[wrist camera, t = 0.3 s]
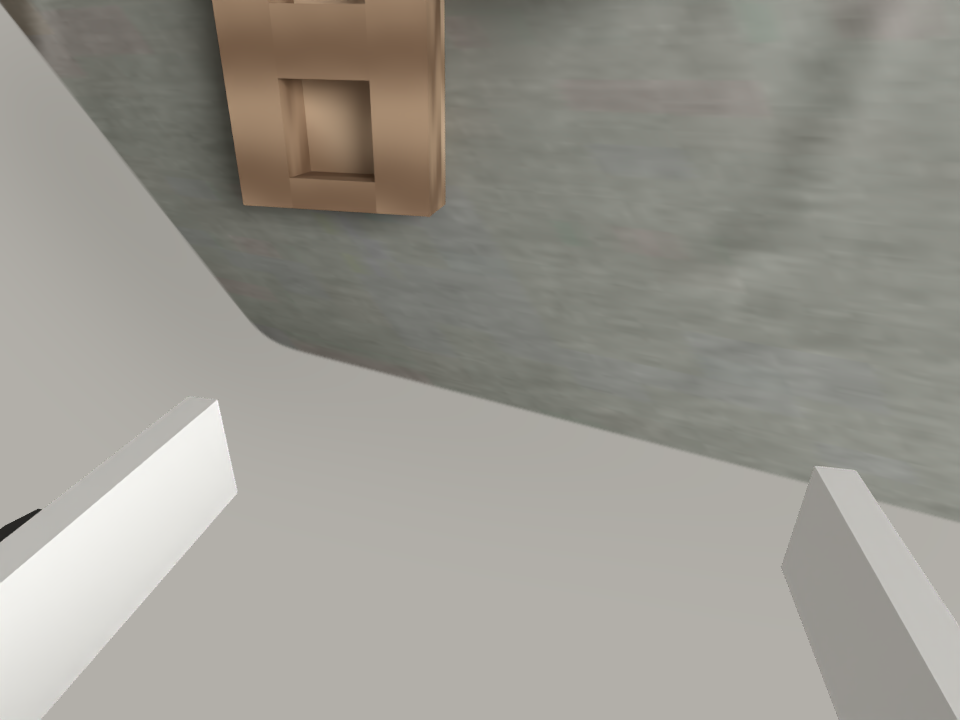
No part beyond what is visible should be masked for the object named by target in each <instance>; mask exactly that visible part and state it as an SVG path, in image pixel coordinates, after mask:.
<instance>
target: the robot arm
mask: <svg viewBox="0 0 960 720" xmlns="http://www.w3.org/2000/svg"><path fill="white" fill-rule="evenodd" d="M236 494H237V487H236V483H235V478H234V474H233V469H232V464H231V460H230V455H229V450H228V446H227V441H226V436H225V432H224V427H223V423H222V418H221V413H220V409H219V404H218V400H217V399H208V398H199V397H190V396H188V397H187V398H185V399H184V400H183V401H182V402H180V403H179V404H178V405H176V406H175V407H174V408H172V409H171V410H170V411H169V412H167V413H166V414H165V415H163V416H162V417H161V418H160V419H158V420H157V421H156V422H154V423H153V424H152V425H151V426H149V427H148V428H147V429H145V430H144V431H143V432H142V433H140V434H139V435H138V436H136V437H135V438H134V439H133V440H131V441H130V442H129V443H127V444H126V445H125V446H124V447H122V448H121V449H120V450H118V451H117V452H116V453H114V454H113V455H112V456H111V457H109V458H108V459H107V460H106V461H104V462H103V463H102V464H100V465H99V466H98V467H97V468H95V469H94V470H93V471H91V472H90V473H89V474H87V475H86V476H85V477H84V478H82V479H81V480H80V481H78V482H77V483H76V484H75V485H73V486H72V487H71V488H69V489H68V490H67V491H66V492H64V493H63V494H62V495H60V496H59V497H58V498H57V499H55V500H54V501H53V502H51V503H50V504H49V505H48V506H46V507H45V508H44V509H37V510H35V511H33V512H31V513H29V514H27V515H25V516H23V517H21V518H19V519H17V520H15V521H13V522H11V523H9V524H7V525H5V526H4V527H2V528H1V529H0V720H41V719H42V717H43V716H44V715H45V714H46V713H47V712H48V711H49V709H50V708H51V707H52V706H53V705H54V704H55V702H56V701H57V700H58V699H59V698H60V697H61V696H62V694H63V693H64V692H65V691H66V690H67V689H68V687H69V686H70V685H71V684H72V683H73V682H74V680H75V679H76V678H77V677H78V676H79V675H80V674H81V672H82V671H83V670H84V669H85V668H86V667H87V665H88V664H89V663H90V662H91V661H92V660H93V659H94V657H95V656H96V655H97V654H98V653H99V652H100V651H101V649H102V648H103V647H104V646H105V645H106V644H107V642H108V641H109V640H110V639H111V638H112V637H113V636H114V634H115V633H116V632H117V631H118V630H119V629H120V628H121V626H122V625H123V624H124V623H125V622H126V620H127V619H128V618H129V617H130V616H131V615H132V614H133V612H134V611H135V610H136V609H137V608H138V607H139V606H140V604H141V603H142V602H143V601H144V599H146V598H147V596H148V595H149V594H150V593H151V592H152V591H153V589H154V588H155V587H156V586H157V585H158V584H159V582H160V581H161V580H162V579H163V578H164V577H165V575H166V574H167V573H168V572H169V571H170V570H171V569H172V568H173V566H174V565H175V564H176V563H177V562H178V561H179V559H180V558H181V557H182V556H183V555H184V554H185V553H186V551H187V550H188V549H189V548H190V547H191V545H192V544H193V543H194V542H195V541H196V540H197V538H199V536H200V535H201V534H202V533H203V532H204V531H205V529H206V528H207V527H208V526H209V525H210V524H211V522H212V521H213V520H214V519H215V518H216V517H217V516H218V514H219V513H220V512H221V511H222V510H223V509H224V508H225V506H226V505H227V504H228V503H229V502H230V501H231V499H232V498H233V497H234V496H235V495H236ZM781 568H782V571H783V573H784V576H785V579H786V582H787V584H788V587H789V589H790V592H791V595H792V597H793V600H794V602H795V605H796V608H797V611H798V613H799V616H800V619H801V621H802V624H803V626H804V629H805V632H806V634H807V637H808V640H809V642H810V645H811V647H812V650H813V653H814V656H815V658H816V661H817V664H818V666H819V669H820V671H821V674H822V677H823V679H824V682H825V685H826V687H827V690H828V692H829V695H830V698H831V701H832V703H833V706H834V709H835V711H836V714H837V716H838V719H839V720H960V627H959V625H958V624H957V622H956V621H955V619H954V618H953V616H952V615H951V613H950V612H949V610H948V609H947V607H946V605H945V604H944V602H943V601H942V599H941V598H940V596H939V595H938V593H937V592H936V591H935V589H934V587H933V586H932V584H931V583H930V581H929V580H928V578H927V577H926V575H925V574H924V572H923V571H922V569H921V568H920V566H919V565H918V563H917V562H916V560H915V559H914V557H913V556H912V555H911V553H910V551H909V550H908V548H907V547H906V545H905V544H904V542H903V541H902V539H901V538H900V536H899V535H898V534H897V532H896V530H895V529H894V527H893V525H892V524H891V522H890V521H889V520H888V518H887V516H886V515H885V513H884V512H883V511H882V509H881V507H880V506H879V504H878V503H877V501H876V500H875V498H874V497H873V495H872V494H871V492H870V491H869V489H868V488H867V486H866V485H865V483H864V482H863V480H862V479H861V477H860V476H859V474H858V473H857V471H856V470H849V469H840V468H831V467H822V466H814V469H813V472H812V475H811V478H810V481H809V484H808V487H807V490H806V493H805V496H804V499H803V502H802V505H801V508H800V511H799V514H798V517H797V520H796V523H795V526H794V529H793V532H792V536H791V538H790V542H789V545H788V548H787V551H786V554H785V557H784V560H783V563H782V566H781Z"/></svg>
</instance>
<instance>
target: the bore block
mask: <svg viewBox="0 0 960 720" xmlns="http://www.w3.org/2000/svg"><path fill="white" fill-rule="evenodd" d="M212 4H213V10H214V17H215V23H216V30H217V36H218V43H219V49H220V56H221V62H222V69H223V75H224V82H225V88H226V95H227V101H228V108H229V114H230V121H231V127H232V133H233V140H234V146H235V153H236V159H237V166H238V172H239V179H240V185H241V192H242V198H243V205H250V206H266V207H282V208H298V209H314V210H331V211H347V212H363V213H379V214H395V215H411V216H427V217H430V216H431V215H432V214H434V213H435V212H436V211H437V210H439V209H440V208H441V207H442V206H444V205H445V0H212Z"/></svg>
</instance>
